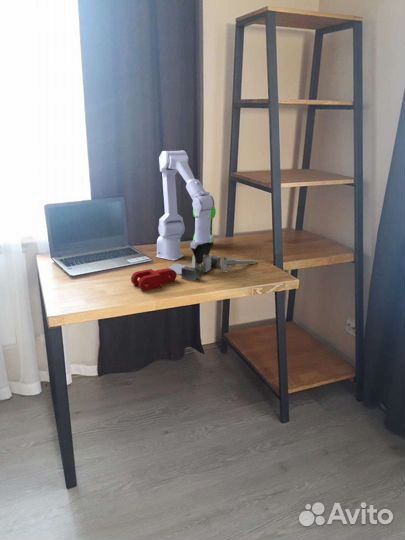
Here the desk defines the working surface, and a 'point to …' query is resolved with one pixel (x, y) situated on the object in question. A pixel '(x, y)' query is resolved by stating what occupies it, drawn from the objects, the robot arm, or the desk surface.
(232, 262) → the caliper
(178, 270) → the mat
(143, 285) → the mechanical linkage
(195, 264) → the white block
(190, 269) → the vise
